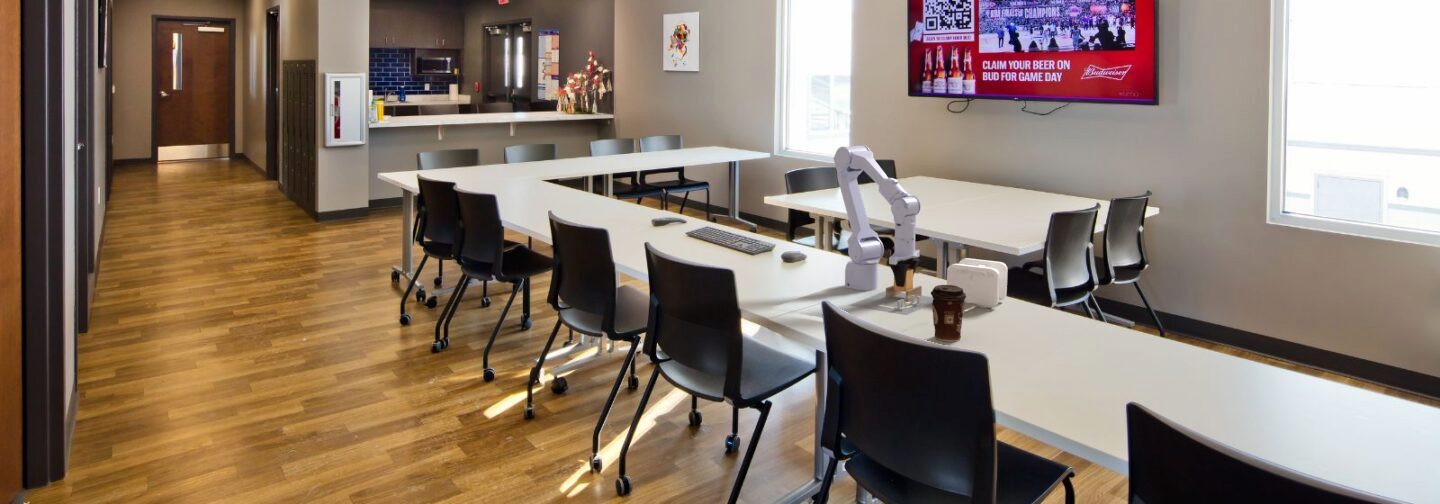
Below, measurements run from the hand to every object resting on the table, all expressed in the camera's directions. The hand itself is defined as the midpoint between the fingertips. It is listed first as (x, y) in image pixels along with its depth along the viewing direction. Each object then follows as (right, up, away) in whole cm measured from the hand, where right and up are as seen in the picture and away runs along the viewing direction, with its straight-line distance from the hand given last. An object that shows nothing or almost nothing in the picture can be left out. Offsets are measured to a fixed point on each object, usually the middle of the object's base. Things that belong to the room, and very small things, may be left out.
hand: (903, 284), depth 268 cm
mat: (-3, -6, -4) cm, 8 cm away
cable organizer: (+20, -5, -3) cm, 21 cm away
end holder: (0, -4, +1) cm, 4 cm away
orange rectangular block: (0, -1, 0) cm, 2 cm away
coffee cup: (+3, -12, -37) cm, 39 cm away
